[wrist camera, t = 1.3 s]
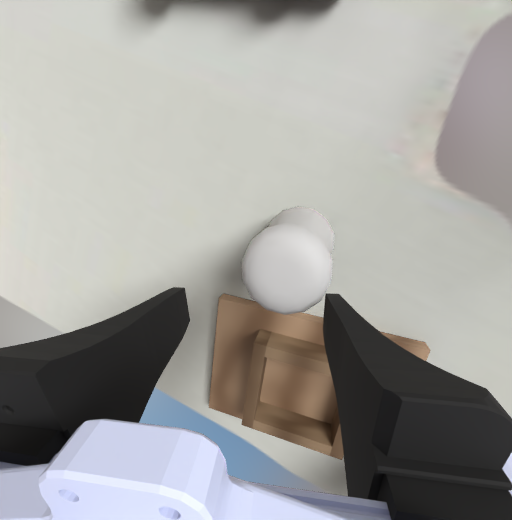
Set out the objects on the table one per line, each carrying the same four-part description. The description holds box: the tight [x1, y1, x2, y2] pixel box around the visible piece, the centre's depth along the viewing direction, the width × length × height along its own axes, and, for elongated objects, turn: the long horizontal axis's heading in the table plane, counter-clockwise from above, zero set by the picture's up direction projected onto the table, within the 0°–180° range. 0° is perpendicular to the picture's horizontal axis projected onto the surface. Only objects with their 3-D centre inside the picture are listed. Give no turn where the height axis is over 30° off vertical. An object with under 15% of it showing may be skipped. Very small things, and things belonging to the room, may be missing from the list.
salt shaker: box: [241, 207, 334, 315], centre depth 17 cm, size 6×6×13 cm
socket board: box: [209, 294, 430, 460], centre depth 25 cm, size 20×15×4 cm
